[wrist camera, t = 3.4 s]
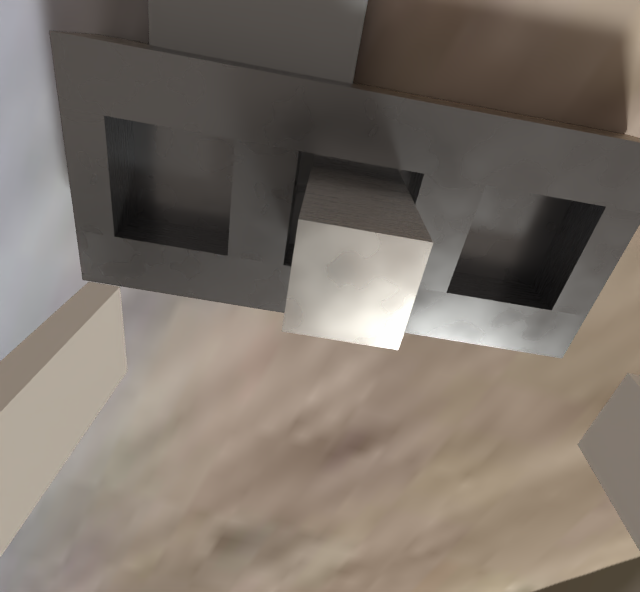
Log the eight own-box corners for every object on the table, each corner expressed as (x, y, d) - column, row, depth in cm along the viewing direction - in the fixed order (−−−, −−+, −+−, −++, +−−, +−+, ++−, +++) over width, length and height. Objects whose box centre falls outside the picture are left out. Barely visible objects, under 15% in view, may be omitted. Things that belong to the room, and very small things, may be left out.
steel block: (302, 234, 25) (281, 331, 16) (314, 155, 23) (298, 219, 14) (378, 247, 25) (398, 350, 17) (398, 170, 23) (433, 242, 14)
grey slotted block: (115, 250, 27) (82, 279, 24) (97, 34, 21) (49, 30, 18) (535, 321, 28) (562, 358, 25) (629, 135, 22) (682, 150, 19)
